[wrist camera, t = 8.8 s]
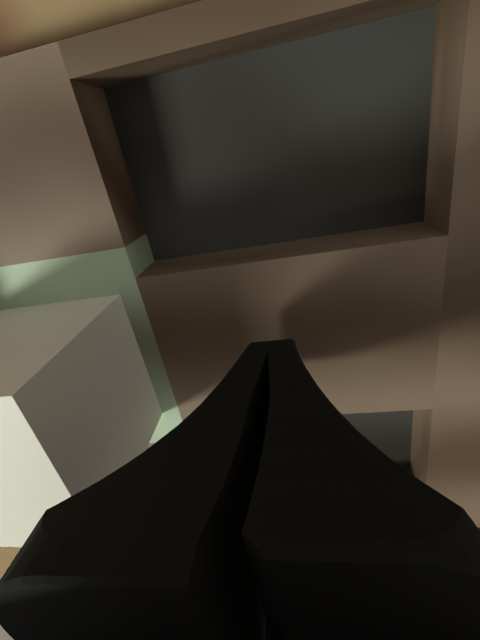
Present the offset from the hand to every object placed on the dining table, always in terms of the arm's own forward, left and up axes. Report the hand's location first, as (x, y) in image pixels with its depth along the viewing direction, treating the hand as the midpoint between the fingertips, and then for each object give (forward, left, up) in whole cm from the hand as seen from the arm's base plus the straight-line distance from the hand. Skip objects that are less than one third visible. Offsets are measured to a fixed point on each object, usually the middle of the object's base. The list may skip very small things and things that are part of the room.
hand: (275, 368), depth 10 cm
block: (0, +7, -1) cm, 7 cm away
